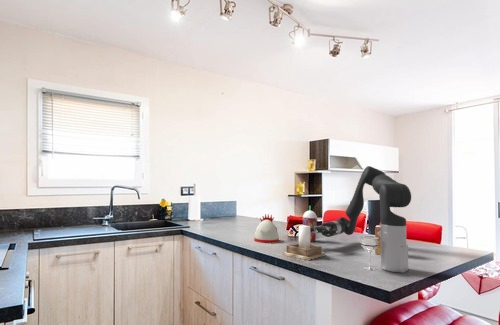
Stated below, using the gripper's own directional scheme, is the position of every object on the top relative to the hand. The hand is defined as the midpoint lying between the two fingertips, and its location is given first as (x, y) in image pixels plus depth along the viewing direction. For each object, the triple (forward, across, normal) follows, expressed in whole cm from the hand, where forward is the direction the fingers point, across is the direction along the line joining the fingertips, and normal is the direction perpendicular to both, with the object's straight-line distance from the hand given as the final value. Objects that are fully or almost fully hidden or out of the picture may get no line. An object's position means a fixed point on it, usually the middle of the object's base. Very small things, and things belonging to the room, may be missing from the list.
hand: (314, 231), depth 149 cm
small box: (-22, +25, +10) cm, 35 cm away
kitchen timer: (-5, -34, +10) cm, 36 cm away
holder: (+9, 0, +10) cm, 13 cm away
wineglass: (+9, +30, +10) cm, 33 cm away
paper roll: (+9, 0, +8) cm, 12 cm away
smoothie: (-23, -17, +10) cm, 30 cm away
